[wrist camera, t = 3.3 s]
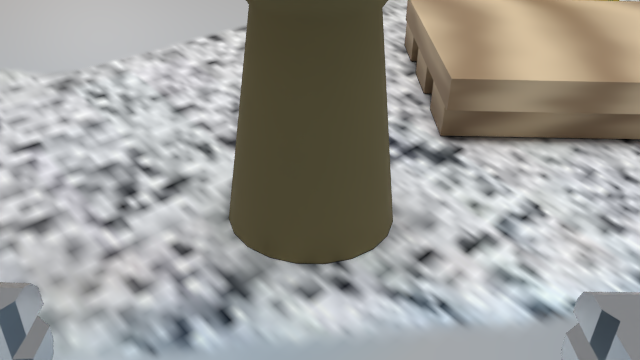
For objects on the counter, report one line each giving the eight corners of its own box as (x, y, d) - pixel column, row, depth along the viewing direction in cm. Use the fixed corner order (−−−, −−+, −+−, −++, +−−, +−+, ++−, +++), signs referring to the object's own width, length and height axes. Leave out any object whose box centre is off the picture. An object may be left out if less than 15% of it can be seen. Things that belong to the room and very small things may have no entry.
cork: (425, 214, 22) (472, -113, 17) (310, 289, 19) (319, -98, 13) (311, 156, 26) (317, -129, 20) (195, 210, 22) (163, -121, 17)
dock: (442, 140, 28) (451, 78, 26) (403, 42, 40) (408, -4, 38) (786, 146, 28) (815, 86, 26) (644, 47, 40) (658, 1, 38)
